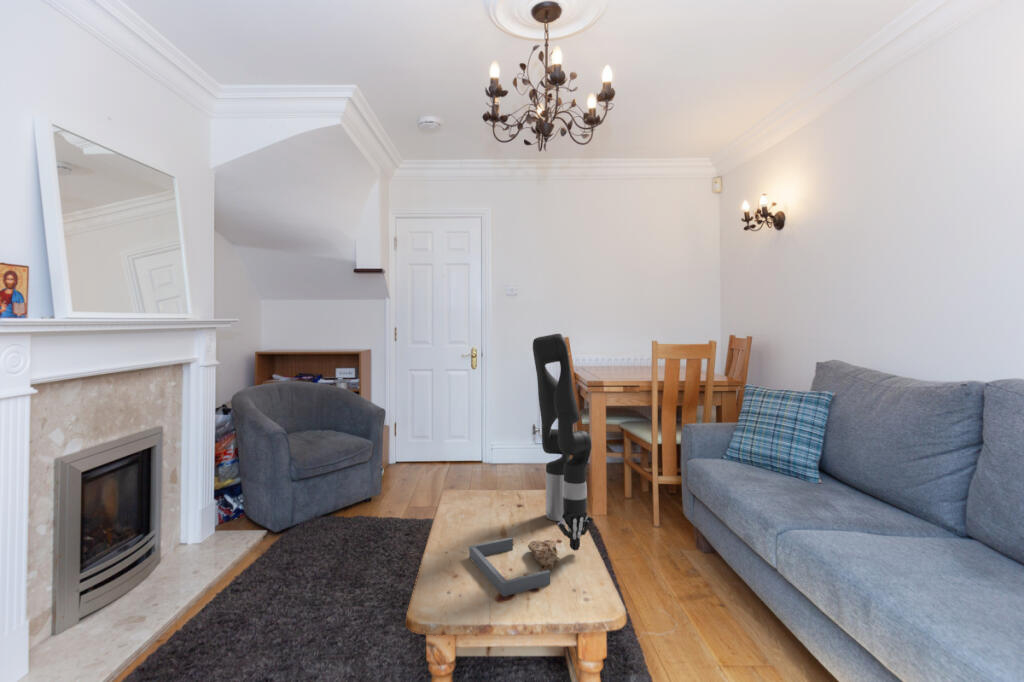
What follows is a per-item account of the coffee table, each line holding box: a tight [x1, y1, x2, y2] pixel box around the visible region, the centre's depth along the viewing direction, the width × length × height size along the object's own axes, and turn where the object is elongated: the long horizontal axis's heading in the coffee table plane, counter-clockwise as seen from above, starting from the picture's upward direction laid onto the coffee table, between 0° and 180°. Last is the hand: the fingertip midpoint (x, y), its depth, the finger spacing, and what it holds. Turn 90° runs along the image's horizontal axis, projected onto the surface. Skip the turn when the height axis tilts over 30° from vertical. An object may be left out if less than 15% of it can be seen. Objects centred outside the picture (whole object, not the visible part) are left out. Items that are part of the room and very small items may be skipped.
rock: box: [527, 539, 560, 572], centre depth 147 cm, size 17×5×10 cm
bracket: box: [468, 537, 551, 597], centre depth 141 cm, size 14×25×4 cm, turn 26°
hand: (574, 549), depth 152 cm, fingers closed
